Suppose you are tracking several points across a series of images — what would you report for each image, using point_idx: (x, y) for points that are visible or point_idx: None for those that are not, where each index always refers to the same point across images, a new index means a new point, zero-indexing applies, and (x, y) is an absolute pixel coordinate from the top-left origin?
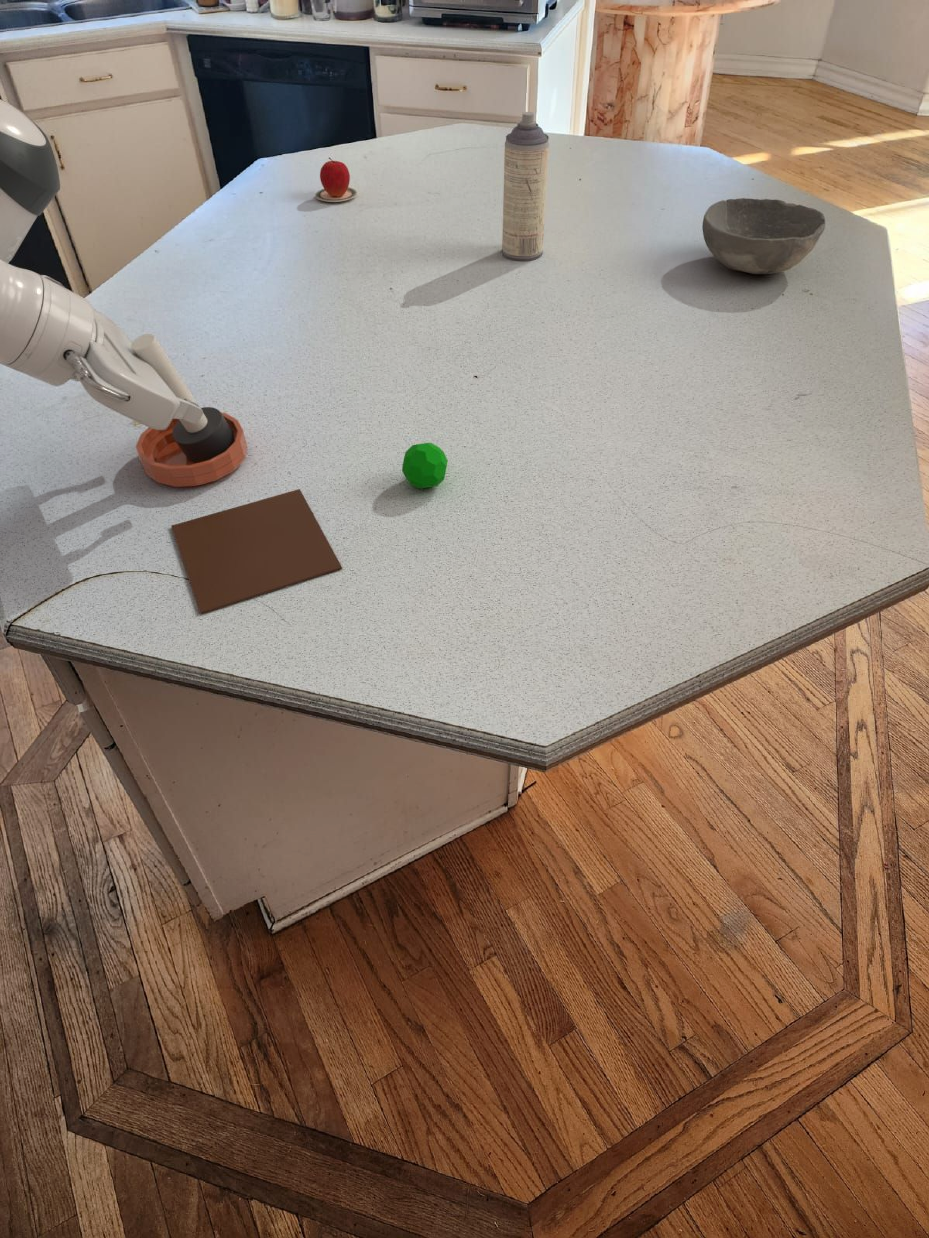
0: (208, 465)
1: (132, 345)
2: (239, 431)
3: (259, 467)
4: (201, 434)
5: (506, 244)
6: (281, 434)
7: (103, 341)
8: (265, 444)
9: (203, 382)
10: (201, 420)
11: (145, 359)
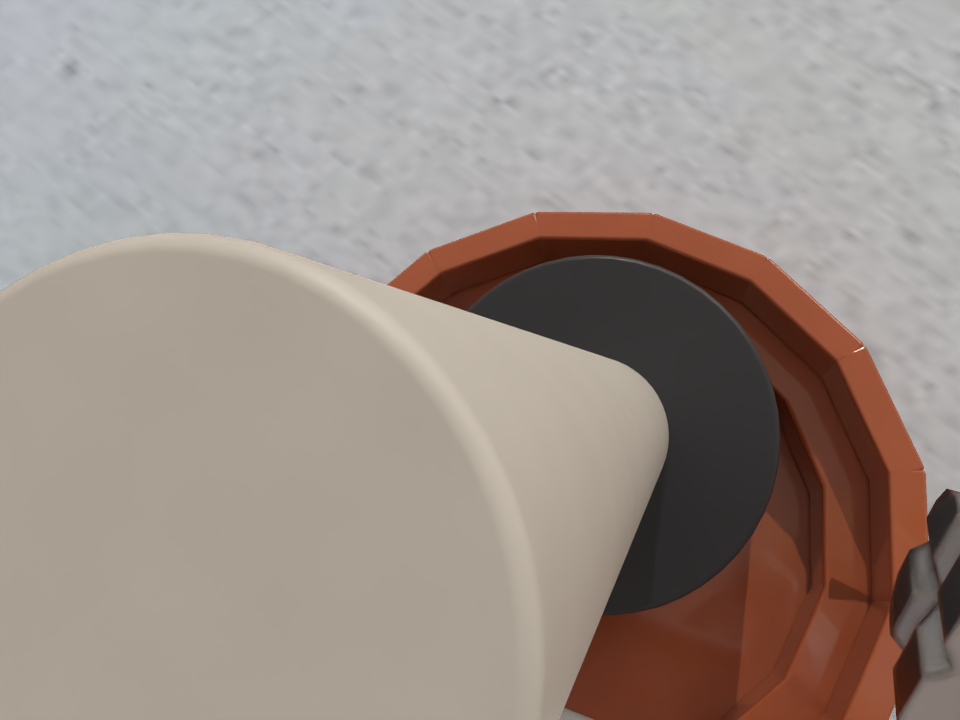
0: None
1: None
2: (763, 277)
3: (913, 360)
4: (708, 489)
5: None
6: (748, 113)
7: None
8: (756, 214)
9: (108, 95)
10: (664, 420)
11: None
